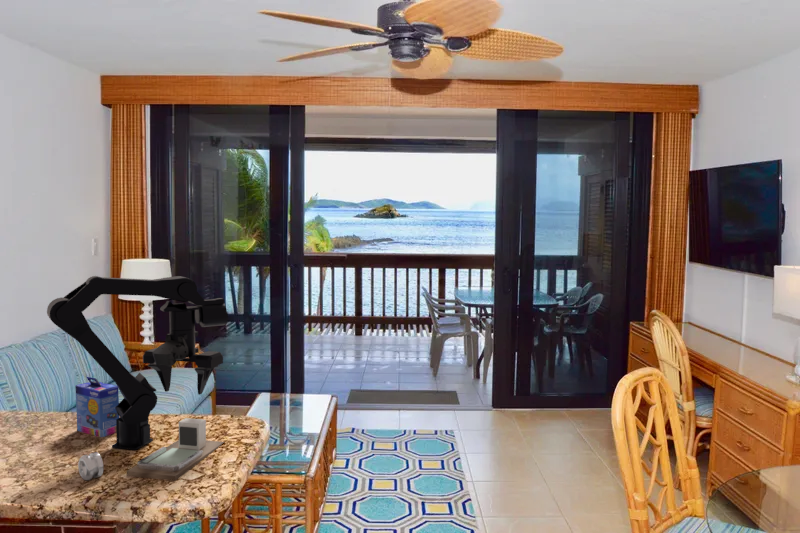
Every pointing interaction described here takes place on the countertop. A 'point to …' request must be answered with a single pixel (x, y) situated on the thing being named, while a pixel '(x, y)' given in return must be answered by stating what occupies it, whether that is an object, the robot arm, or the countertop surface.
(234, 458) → the countertop surface
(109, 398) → the ink cartridge box
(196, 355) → the robot arm
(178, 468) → the rail guides
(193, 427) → the block
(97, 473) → the metal grooved wheel
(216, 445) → the rail board
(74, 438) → the countertop surface
